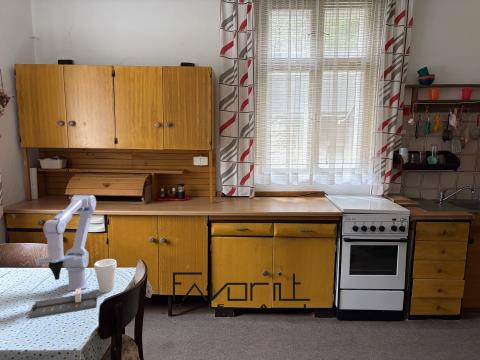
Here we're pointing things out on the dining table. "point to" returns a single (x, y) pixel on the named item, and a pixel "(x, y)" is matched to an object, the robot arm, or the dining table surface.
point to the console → (63, 305)
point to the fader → (78, 295)
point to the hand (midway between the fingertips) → (57, 278)
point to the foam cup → (106, 274)
